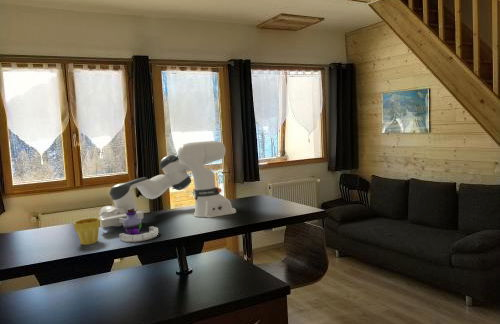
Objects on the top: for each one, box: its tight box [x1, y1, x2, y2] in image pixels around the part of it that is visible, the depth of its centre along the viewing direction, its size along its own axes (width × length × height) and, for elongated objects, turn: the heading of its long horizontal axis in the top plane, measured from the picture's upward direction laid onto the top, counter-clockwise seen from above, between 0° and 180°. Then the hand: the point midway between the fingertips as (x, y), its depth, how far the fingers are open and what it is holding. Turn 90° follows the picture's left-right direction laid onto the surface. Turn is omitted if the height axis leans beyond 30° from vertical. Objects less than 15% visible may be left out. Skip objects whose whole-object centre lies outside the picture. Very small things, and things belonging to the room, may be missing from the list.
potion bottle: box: [122, 208, 143, 235], centre depth 183 cm, size 9×9×12 cm
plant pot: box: [73, 217, 101, 246], centre depth 174 cm, size 10×10×10 cm
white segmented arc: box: [118, 226, 159, 243], centre depth 177 cm, size 11×16×2 cm
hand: (127, 220), depth 186 cm, fingers closed, pressing on potion bottle
